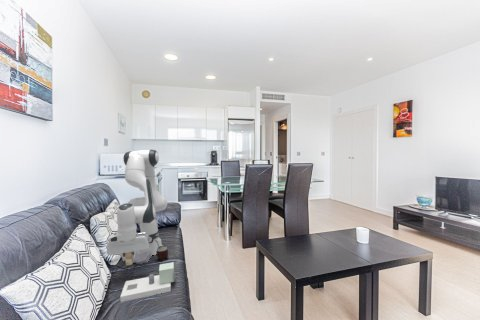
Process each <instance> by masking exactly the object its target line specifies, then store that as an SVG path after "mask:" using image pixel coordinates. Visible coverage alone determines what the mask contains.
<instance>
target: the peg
mask: <svg viewBox="0 0 480 320" xmlns="http://www.w3.org/2000/svg"><path fill="white" fill-rule="evenodd" d="M132 255H133V252H127V253H124V256H125V260H126V261H125V266H131V265H133V259H132Z"/></svg>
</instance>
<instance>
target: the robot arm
mask: <svg viewBox="0 0 480 320" xmlns="http://www.w3.org/2000/svg"><path fill="white" fill-rule="evenodd" d="M122 159H123V163H124V165H125V171H124V179H125V182H126V183H127V184H128V185H130V186H131V187H133V188H137V189H139V191H142V192H143V193H144V196H142V197H136V198H135V197H134V198H131V199H130V200H129V201H128V203H127V202H126V203H122V204H120V205H119V206H118V207H117V213H116V223H117V232H114V233H112V234H110V235H109V237H108V239H107V240H108V242H107V245H106V255H107V256H114V255H119V256H120V257H121V258H122V261H123V262H124V261H125V262H126V260H125V253H127V252H132V253H133V254H132V259H135V255H136V253H138V254H142V253H145V252H150V253H151V257H153V256H152V255H154V256H157V255H156V254H157V253H156V251H157V248H158V244H159V246H164V245H163V243H162V239H161V238H160V234H159V228H158V226H159V225H158V220H157V219H156V216H157V213H158V212H161V211H165V210H166V209H167V207H168V199H167V198H166V197H165V196H164V195H162V194H161V193H160V191H159V190H158V188H157V184H156V173H155V167H156V165H157V164H158V163H159V160H160V156H159V153H158V151H157V150H156V149H140V150H133V151H127V152H125V153H124V155H123V158H122ZM136 224H139V228H140V232H137V225H136ZM153 239H155V240H157V241H158V244H157V242H156V241H155V240H153Z"/></svg>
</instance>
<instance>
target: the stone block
mask: <svg viewBox="0 0 480 320" xmlns="http://www.w3.org/2000/svg"><path fill="white" fill-rule="evenodd" d="M150 258H152V256H151V253H150V252H145V253H142V254H138V253H136V255H135V259H133V263H136V264H135V265H143V263H144V264H148V261H149V262H150V260H151V259H150ZM149 259H150V260H149ZM133 263H132V264H133Z"/></svg>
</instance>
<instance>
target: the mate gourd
mask: <svg viewBox="0 0 480 320" xmlns="http://www.w3.org/2000/svg"><path fill="white" fill-rule="evenodd" d="M153 240H155V239H153ZM155 241H156V242H157V244H158V241H157V240H155ZM156 253H157V255H156V256H157V261H160V263H161V262H163V261H162V260H163V259H166V260H169V259H168V256H169V250H168V247H167V246H166V245H163V246H159V244H158V248H157V251H156Z"/></svg>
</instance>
